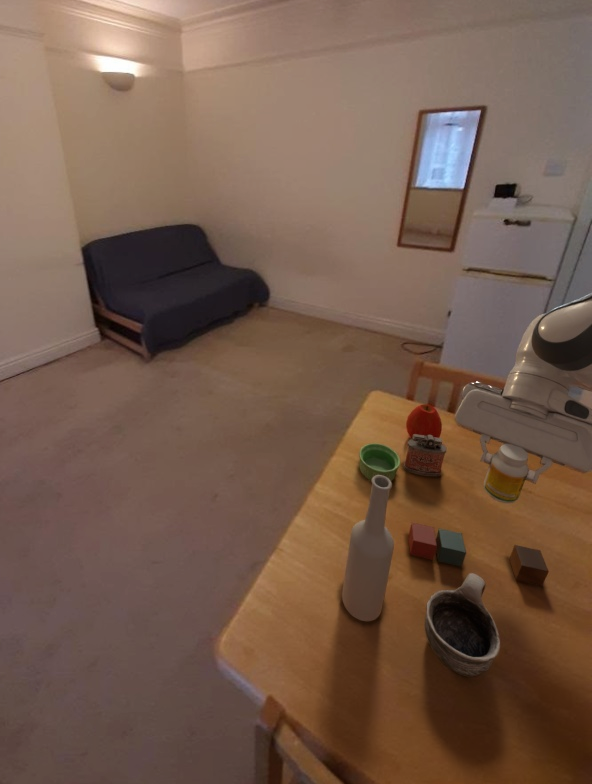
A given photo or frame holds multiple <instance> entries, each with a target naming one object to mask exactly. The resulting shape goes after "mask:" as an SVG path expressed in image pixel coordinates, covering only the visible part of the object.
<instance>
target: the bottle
mask: <svg viewBox="0 0 592 784" xmlns="http://www.w3.org/2000/svg"><path fill="white" fill-rule="evenodd" d="M370 481H371V480H370ZM392 487H393V483H392V481H390V480H389V479H388V478H387V477H385V476H382V475H376V476H374V477H373V478H372V481H371V489H370V490H371V491H370V496H369V501H368V507H367V511H366V515H365V519H363V520H359V521H357V522H356V523H355V524H354V525H353V526H352V527H351V532H350V539H349V544H348V552H347V557H346V565H345V572H344V577H343V578H344V579H343V585H342V593H341V597H342V598H341V600H342V603H343V605H344V608H345V609H346V611H347V612H348V613H349V614H350V615H351V616H352V617H353V618H355V619H357V620H359V621H362V622H372V621H375V620H376V619H378V618H379V617H380V615H381V613H382V611H383V605H384V600H385V595H386V591H387V586H388V579H389V576H390V570H391V565H392V559H393V554H394V548H395V547H394V546H395V543H394V538H393V534H392V533H391V532H390V530H389V529H388V528H387V527H386V525H385V524H386V513H387V507H388V502H389V495H390V490H391V489H392Z"/></svg>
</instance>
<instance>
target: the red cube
mask: <svg viewBox="0 0 592 784" xmlns="http://www.w3.org/2000/svg"><path fill="white" fill-rule="evenodd" d="M436 537H437V536H436V532H435V527H433V526H430V525H426V524H420V523H417V522H411V523H410V527H409V532H408V546H409V554H410V555H411V556H414V557H420V558H423V559H428V560H434V558H435V555H436V547H437V543H436Z"/></svg>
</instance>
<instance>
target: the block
mask: <svg viewBox="0 0 592 784" xmlns="http://www.w3.org/2000/svg"><path fill="white" fill-rule="evenodd" d="M435 537H436V543H437V547H436V551H435V553H436V558H437V562H441V563H444V564H449V565H452V566H457V567H463V564H464V560H465V557H466V555H467V549H466V545H465V541H464V537H463V533H462V532H458V531H452V530H448V529H445V528H438V529H437V533H436V536H435Z"/></svg>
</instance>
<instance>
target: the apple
mask: <svg viewBox="0 0 592 784" xmlns="http://www.w3.org/2000/svg"><path fill="white" fill-rule="evenodd" d="M405 426H406V427H405V428H406V432H407V434H408V436H409V437H410V440H411V439H412V437H413V435H414V434H417V435H424V436H427V435H432V436H433V437H436V438H440V437H441V435H442V431H443V424H442V419H441V416H440V414H439V412H438V410H437V408H435V407H434V406H433V405H431V404H428V403H427V404H426V403H425V404H419V405H417V406H416V407H414V408H413V409H412V410H411V412H410V413H409V414H408V416H407V419H406V424H405Z"/></svg>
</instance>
